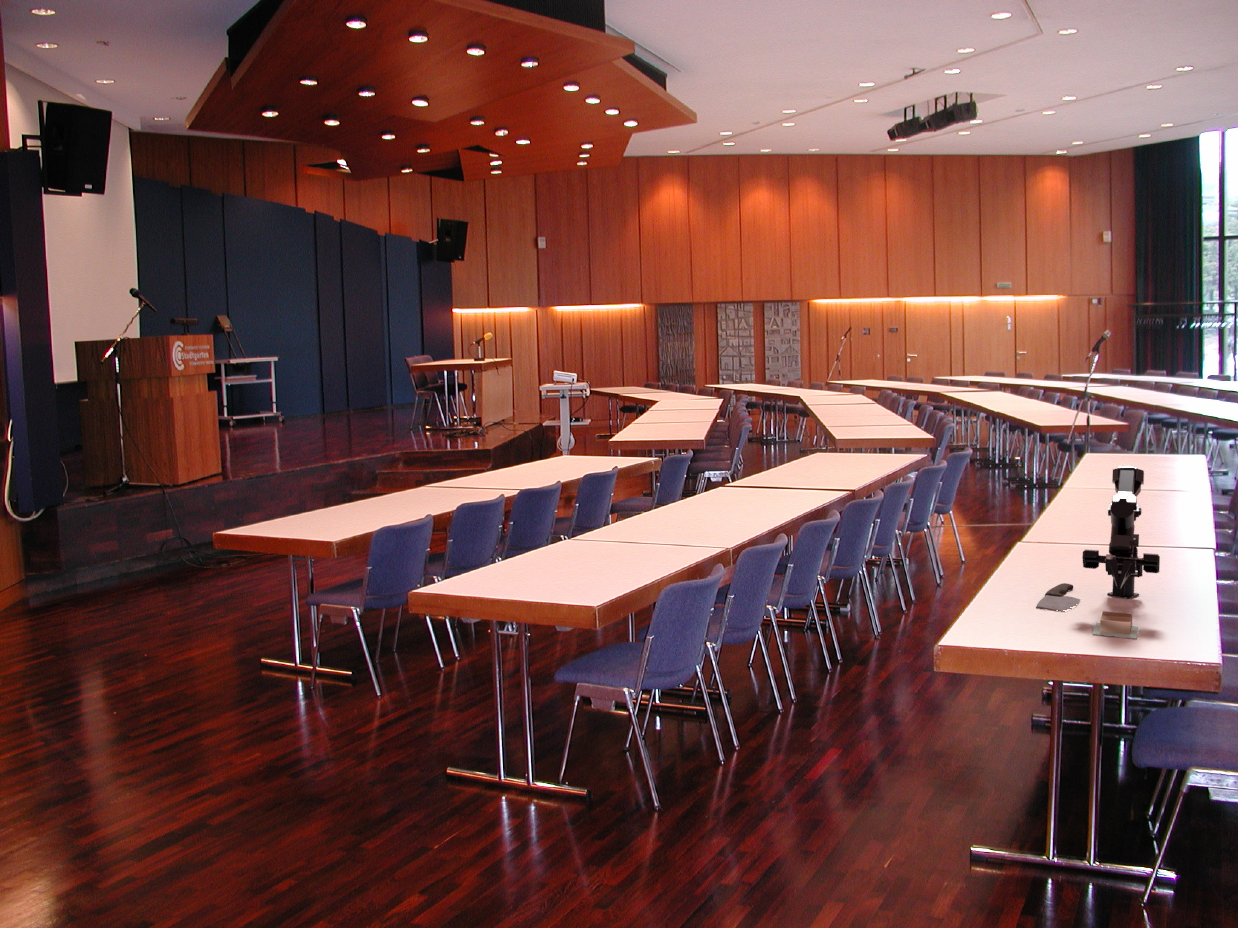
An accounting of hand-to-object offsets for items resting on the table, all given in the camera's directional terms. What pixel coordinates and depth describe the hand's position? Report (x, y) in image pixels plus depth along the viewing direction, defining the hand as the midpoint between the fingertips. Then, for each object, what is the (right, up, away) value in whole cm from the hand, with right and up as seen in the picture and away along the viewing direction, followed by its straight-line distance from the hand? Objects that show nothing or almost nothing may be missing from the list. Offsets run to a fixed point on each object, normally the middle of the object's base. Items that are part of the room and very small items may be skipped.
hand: (1118, 587), depth 277 cm
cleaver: (-5, -7, +25) cm, 27 cm away
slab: (-2, -8, -3) cm, 8 cm away
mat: (-5, -10, -9) cm, 14 cm away
